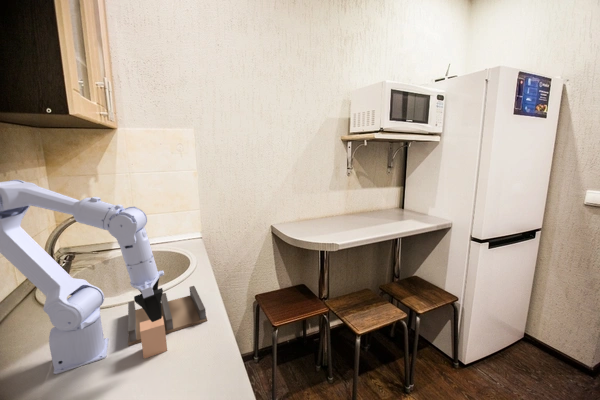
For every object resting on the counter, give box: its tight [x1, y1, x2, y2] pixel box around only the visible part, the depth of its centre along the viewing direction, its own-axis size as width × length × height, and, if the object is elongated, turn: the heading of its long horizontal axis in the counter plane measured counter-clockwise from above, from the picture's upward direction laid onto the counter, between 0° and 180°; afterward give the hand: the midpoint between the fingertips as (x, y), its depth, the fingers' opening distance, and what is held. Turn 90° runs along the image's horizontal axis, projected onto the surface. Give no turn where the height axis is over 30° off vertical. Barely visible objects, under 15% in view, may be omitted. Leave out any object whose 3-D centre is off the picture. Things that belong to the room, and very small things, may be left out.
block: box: [140, 316, 168, 359], centre depth 67 cm, size 5×4×7 cm
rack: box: [127, 285, 208, 346], centre depth 80 cm, size 19×16×4 cm
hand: (155, 312), depth 67 cm, fingers open, 7 cm apart
